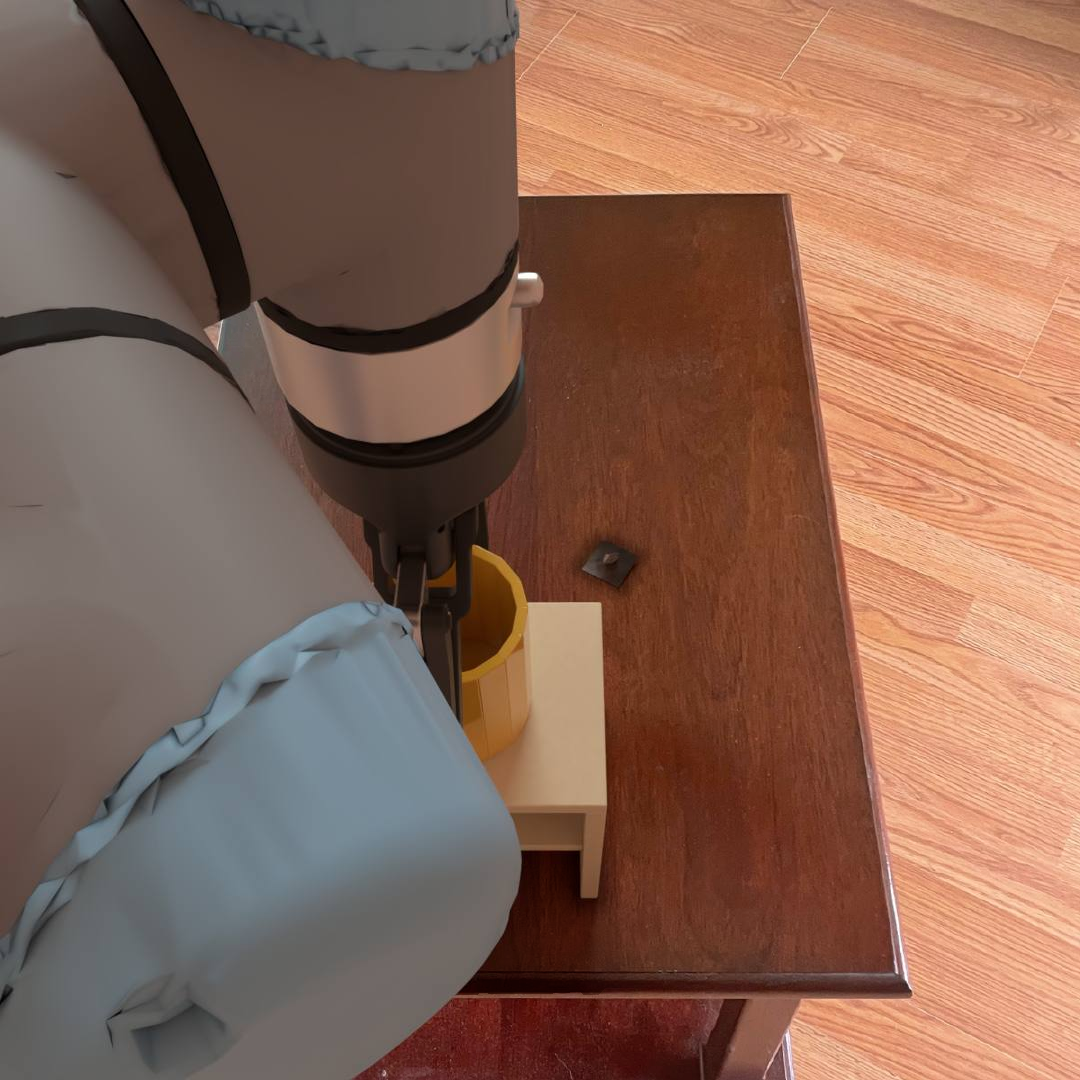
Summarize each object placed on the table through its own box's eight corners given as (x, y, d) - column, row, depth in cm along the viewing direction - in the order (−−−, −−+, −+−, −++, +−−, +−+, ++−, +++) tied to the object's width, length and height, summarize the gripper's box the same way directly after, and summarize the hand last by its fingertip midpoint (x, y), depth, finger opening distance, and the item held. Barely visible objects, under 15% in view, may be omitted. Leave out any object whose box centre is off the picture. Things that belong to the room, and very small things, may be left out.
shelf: (360, 897, 65) (308, 806, 52) (376, 724, 71) (333, 602, 58) (597, 898, 65) (607, 806, 52) (593, 724, 71) (601, 601, 58)
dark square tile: (618, 588, 77) (618, 580, 75) (581, 569, 77) (580, 561, 76) (638, 556, 78) (638, 548, 77) (602, 538, 78) (601, 530, 77)
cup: (440, 794, 52) (420, 717, 45) (363, 686, 55) (332, 596, 48) (559, 712, 54) (559, 625, 47) (478, 612, 57) (466, 515, 50)
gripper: (517, 741, 27) (532, 944, 45) (529, 104, 41) (537, 454, 58) (212, 740, 27) (348, 944, 45) (325, 105, 41) (395, 455, 59)
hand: (455, 668), depth 52 cm, fingers open, 13 cm apart
